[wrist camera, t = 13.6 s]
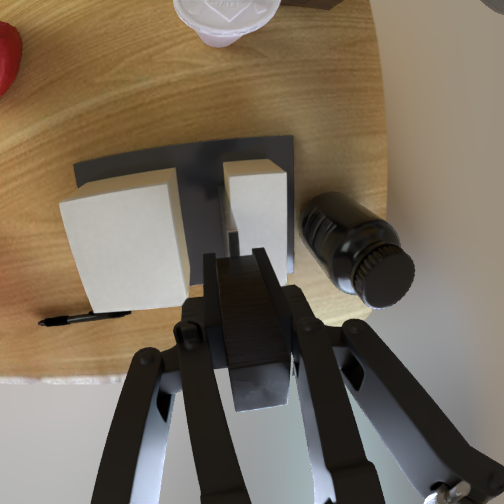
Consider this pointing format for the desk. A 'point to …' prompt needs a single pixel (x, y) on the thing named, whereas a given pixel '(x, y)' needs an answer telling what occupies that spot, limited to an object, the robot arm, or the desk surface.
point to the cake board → (200, 184)
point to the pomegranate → (9, 55)
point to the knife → (249, 325)
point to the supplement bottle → (356, 249)
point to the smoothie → (225, 18)
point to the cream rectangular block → (260, 209)
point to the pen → (82, 318)
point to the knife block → (312, 3)
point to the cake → (129, 241)
